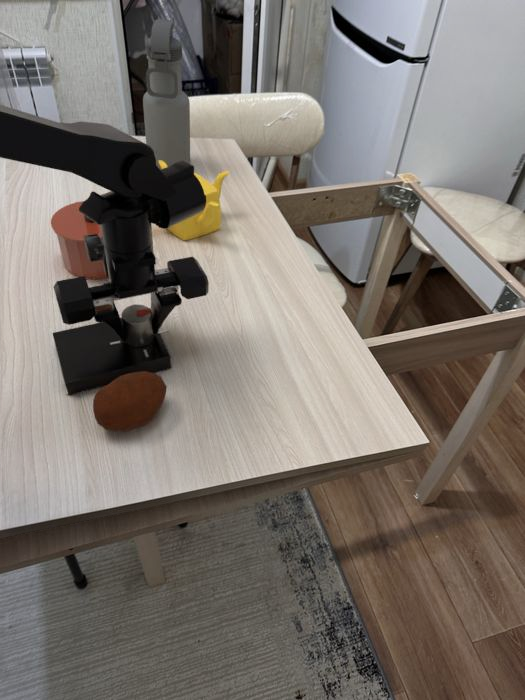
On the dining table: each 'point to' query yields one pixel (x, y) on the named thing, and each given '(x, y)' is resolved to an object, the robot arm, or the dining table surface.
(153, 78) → the water bottle
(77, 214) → the pot lid
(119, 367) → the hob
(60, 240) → the pot
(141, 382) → the potato
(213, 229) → the teapot
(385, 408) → the dining table surface
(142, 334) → the hob knob
